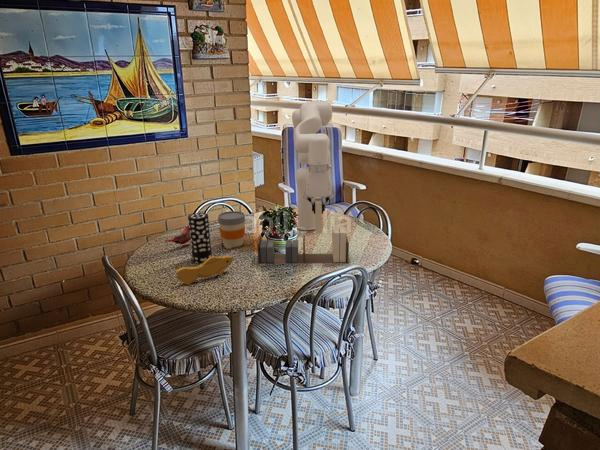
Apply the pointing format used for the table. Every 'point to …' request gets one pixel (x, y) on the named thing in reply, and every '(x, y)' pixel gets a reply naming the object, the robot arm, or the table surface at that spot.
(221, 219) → the reusable coffee cup
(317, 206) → the cream book
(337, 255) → the cream books
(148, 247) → the table surface
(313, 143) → the robot arm
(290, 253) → the grey books
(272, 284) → the table surface
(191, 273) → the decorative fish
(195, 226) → the white-spotted black cylinder
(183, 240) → the decorative bird figurine
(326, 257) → the book rack
